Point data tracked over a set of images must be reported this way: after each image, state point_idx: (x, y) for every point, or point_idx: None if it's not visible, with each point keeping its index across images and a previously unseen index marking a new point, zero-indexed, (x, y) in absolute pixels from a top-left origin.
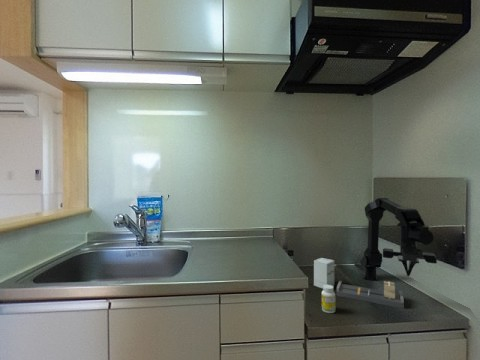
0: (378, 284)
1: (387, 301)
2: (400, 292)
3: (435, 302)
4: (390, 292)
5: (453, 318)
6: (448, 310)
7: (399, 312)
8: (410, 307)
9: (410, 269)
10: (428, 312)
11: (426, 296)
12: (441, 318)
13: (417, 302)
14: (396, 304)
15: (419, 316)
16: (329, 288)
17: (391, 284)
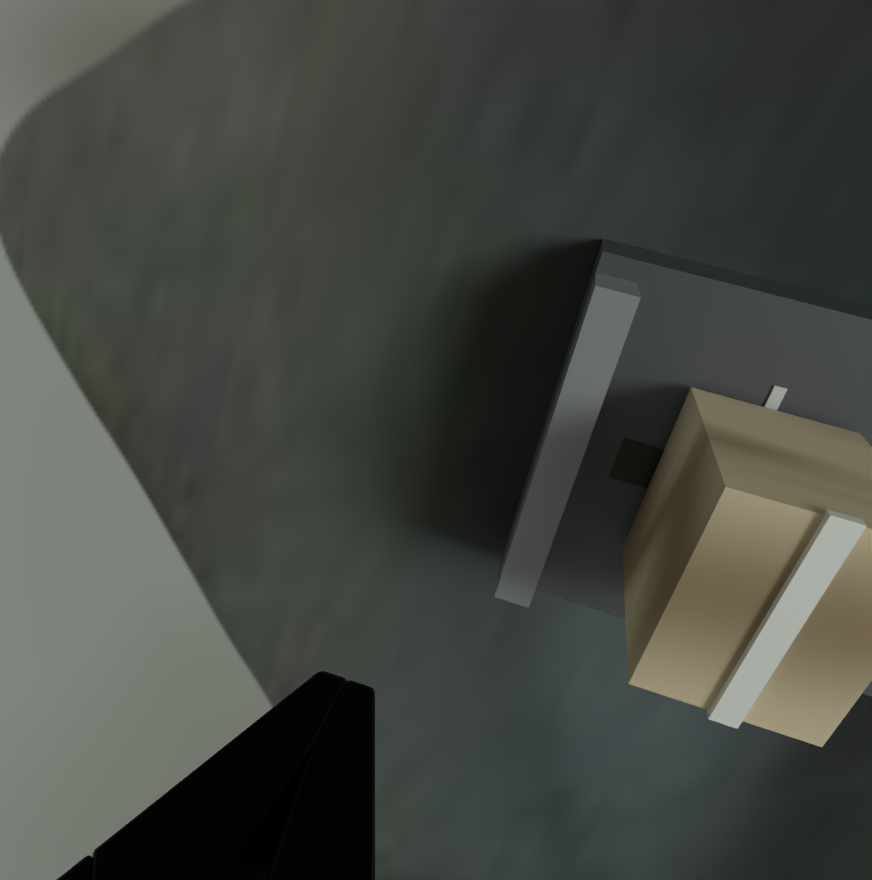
0: (646, 852)
1: (851, 311)
2: (538, 547)
3: (169, 486)
4: (783, 446)
5: (58, 87)
6: (80, 310)
7: (739, 66)
8: (489, 299)
9: (161, 863)
10: (301, 192)
11: (224, 609)
12: (187, 35)
13: (354, 460)
14: (706, 271)
15: (462, 3)
16: None
17: (735, 607)
